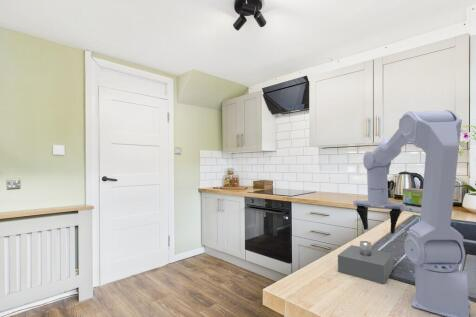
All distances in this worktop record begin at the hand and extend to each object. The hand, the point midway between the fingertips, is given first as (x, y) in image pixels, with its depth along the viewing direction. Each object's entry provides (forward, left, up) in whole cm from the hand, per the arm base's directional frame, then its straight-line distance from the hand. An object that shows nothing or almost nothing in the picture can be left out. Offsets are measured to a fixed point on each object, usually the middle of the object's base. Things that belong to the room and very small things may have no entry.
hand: (378, 231), depth 81 cm
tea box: (0, -111, -11) cm, 112 cm away
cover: (+2, +8, -10) cm, 14 cm away
